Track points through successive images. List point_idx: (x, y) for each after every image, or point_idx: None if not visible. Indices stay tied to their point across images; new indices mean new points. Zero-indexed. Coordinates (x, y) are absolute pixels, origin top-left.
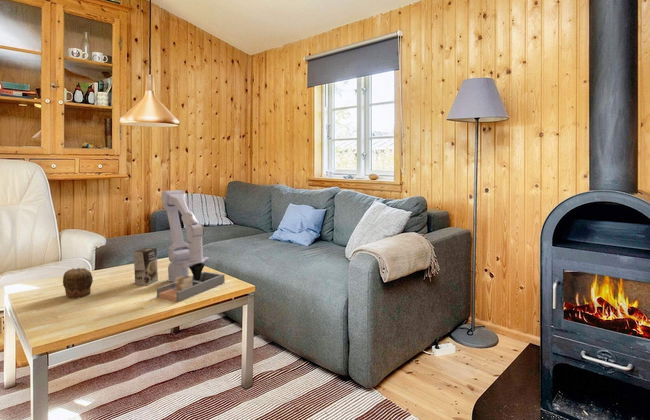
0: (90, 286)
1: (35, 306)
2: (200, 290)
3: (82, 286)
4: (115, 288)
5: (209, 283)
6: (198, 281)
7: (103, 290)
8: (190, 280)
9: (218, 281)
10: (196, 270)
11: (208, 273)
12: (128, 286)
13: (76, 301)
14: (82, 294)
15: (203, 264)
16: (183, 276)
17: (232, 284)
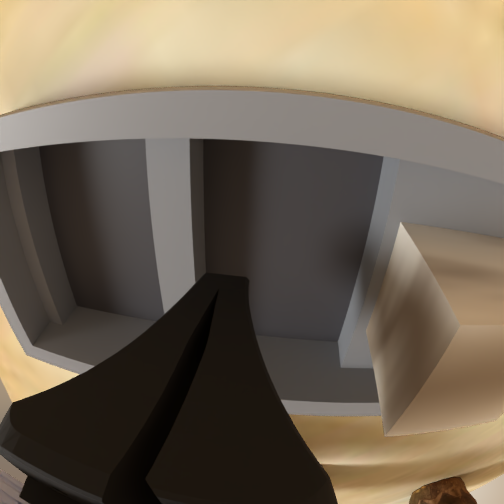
0: (436, 502)
1: (499, 471)
2: (389, 105)
3: (469, 500)
4: (372, 486)
5: (193, 88)
6: (165, 297)
7: (395, 488)
8: (475, 290)
9: (46, 104)
10: (290, 428)
11: (16, 306)
12: (343, 482)
13: (486, 463)
14: (457, 483)
15: (20, 461)
16: (433, 416)
17: (15, 19)
